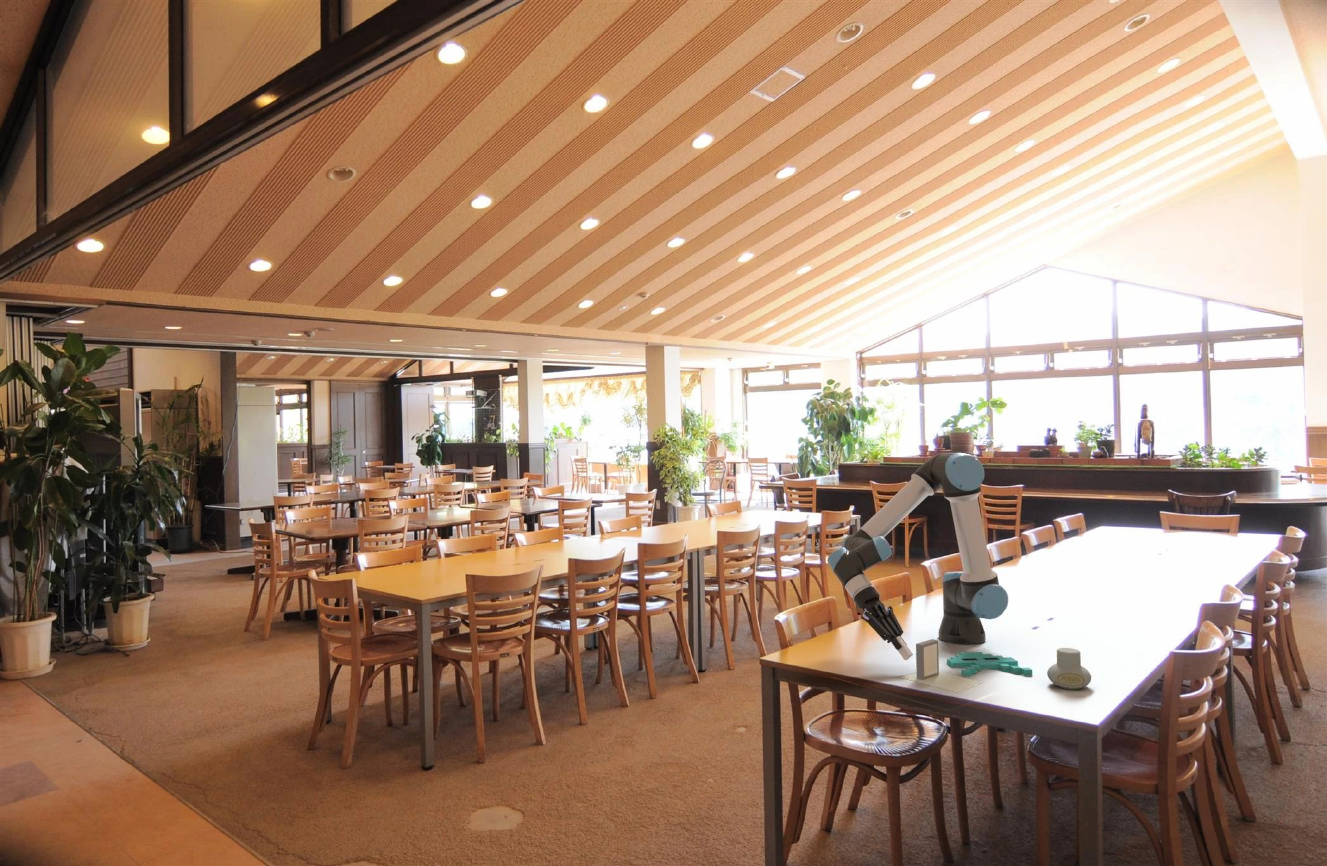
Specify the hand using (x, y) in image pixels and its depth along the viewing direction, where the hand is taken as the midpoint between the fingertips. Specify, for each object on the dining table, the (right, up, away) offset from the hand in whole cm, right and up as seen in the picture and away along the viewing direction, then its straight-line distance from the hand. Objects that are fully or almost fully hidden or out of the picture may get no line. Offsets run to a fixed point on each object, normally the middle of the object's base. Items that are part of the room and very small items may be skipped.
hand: (908, 657), depth 242 cm
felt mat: (+7, -5, -8) cm, 11 cm away
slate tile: (+4, -4, -4) cm, 7 cm away
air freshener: (+40, -4, -14) cm, 43 cm away
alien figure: (+24, -5, +6) cm, 25 cm away
